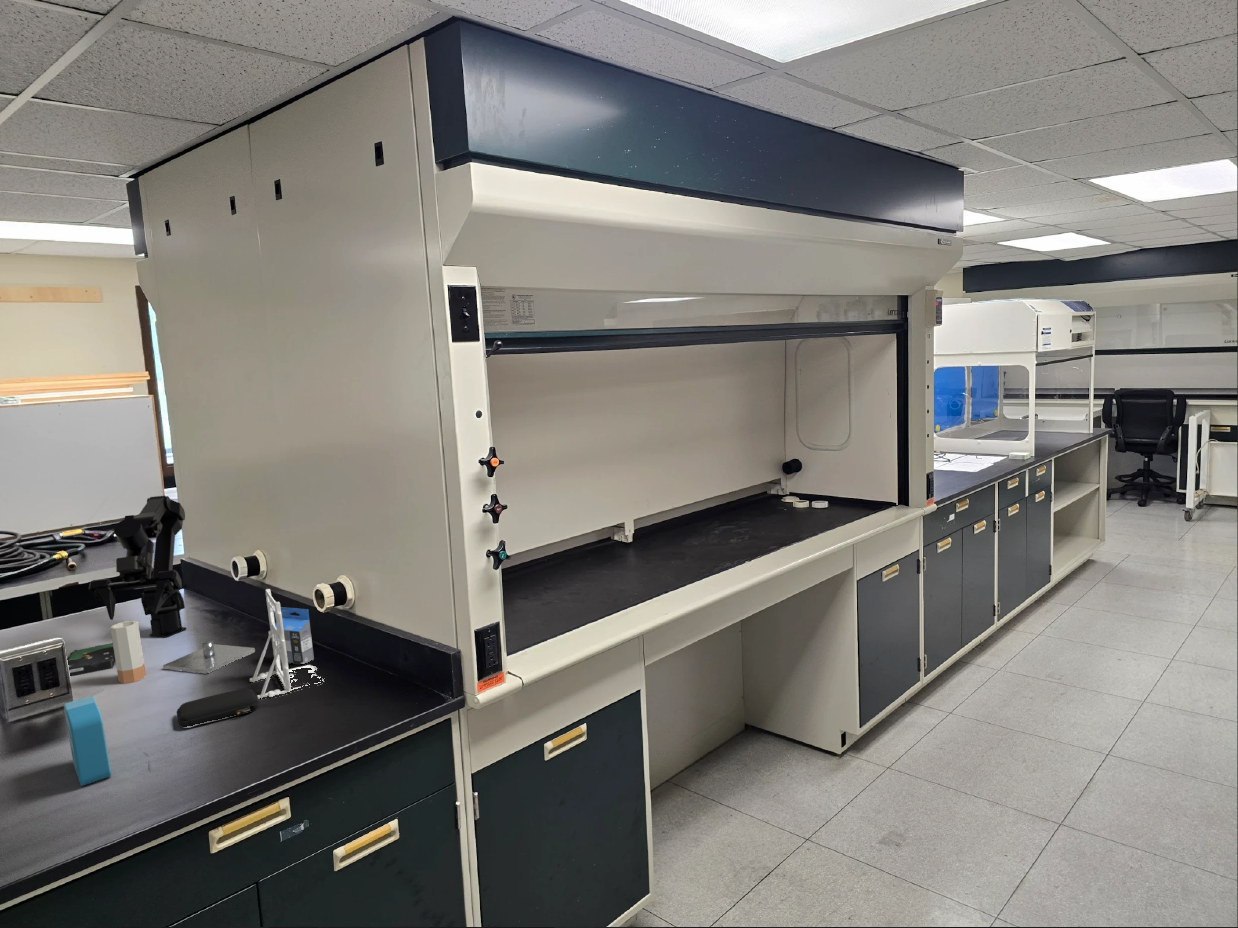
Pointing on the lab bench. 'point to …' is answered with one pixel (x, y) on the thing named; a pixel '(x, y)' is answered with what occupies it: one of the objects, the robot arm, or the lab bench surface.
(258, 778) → the lab bench surface
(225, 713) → the carrying case or bag
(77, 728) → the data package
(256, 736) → the lab bench surface
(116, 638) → the sleeve
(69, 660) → the disk drive
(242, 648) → the pin plate
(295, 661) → the label tape cartridge
